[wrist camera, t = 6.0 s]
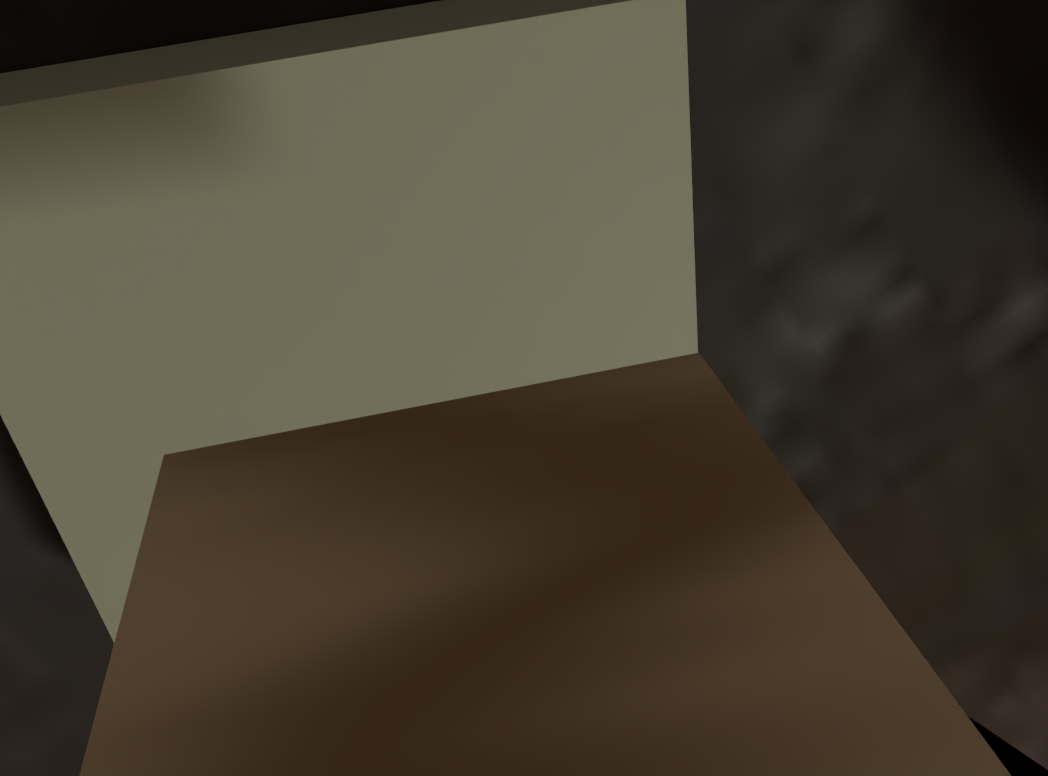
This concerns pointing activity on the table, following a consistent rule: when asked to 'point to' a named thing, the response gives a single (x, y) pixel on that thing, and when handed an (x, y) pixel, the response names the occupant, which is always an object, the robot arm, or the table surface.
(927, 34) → the table surface
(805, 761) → the maple cube
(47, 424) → the sage base
